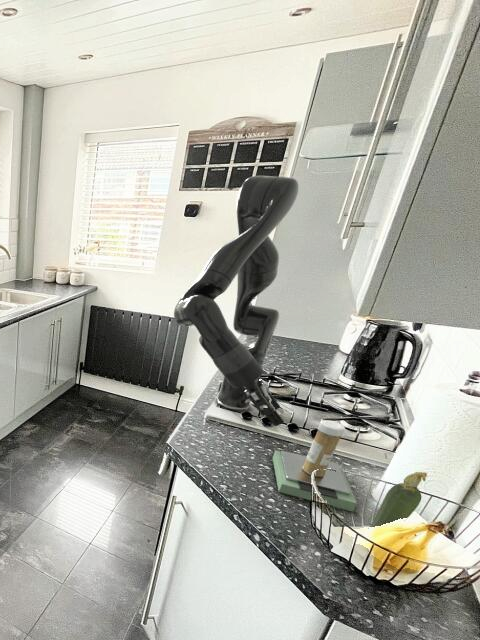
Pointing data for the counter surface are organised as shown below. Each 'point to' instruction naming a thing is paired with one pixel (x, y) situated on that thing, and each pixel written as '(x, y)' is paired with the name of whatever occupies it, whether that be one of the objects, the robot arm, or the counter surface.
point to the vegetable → (400, 500)
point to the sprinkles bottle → (323, 447)
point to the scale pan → (297, 474)
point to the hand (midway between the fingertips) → (277, 416)
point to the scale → (305, 490)
